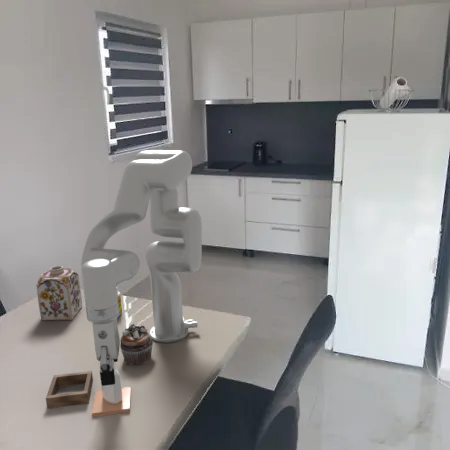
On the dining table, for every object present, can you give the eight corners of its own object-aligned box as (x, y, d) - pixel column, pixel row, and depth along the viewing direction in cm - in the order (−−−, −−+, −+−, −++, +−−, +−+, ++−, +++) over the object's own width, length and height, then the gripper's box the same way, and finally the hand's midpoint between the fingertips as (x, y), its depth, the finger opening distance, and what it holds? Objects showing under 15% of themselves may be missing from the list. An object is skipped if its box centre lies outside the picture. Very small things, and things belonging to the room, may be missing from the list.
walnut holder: (93, 380, 123) (91, 370, 122) (88, 403, 113) (87, 393, 112) (55, 385, 121) (53, 375, 120) (47, 408, 111) (45, 398, 111)
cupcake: (115, 365, 130) (112, 334, 127) (130, 348, 139) (128, 318, 136) (145, 369, 127) (142, 337, 125) (159, 351, 136) (157, 321, 134)
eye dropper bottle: (105, 407, 110) (100, 364, 107) (102, 394, 115) (97, 353, 112) (123, 402, 111) (119, 359, 108) (119, 390, 116) (115, 349, 113)
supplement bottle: (111, 319, 158) (108, 292, 156) (103, 314, 162) (100, 288, 160) (125, 313, 162) (122, 287, 159) (117, 309, 166) (114, 283, 163)
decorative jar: (72, 320, 158) (66, 273, 153) (40, 321, 158) (33, 273, 154) (83, 306, 170) (78, 261, 165) (53, 306, 170) (46, 262, 165)
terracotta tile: (131, 389, 118) (130, 386, 118) (129, 411, 109) (129, 408, 109) (96, 394, 117) (95, 390, 116) (92, 416, 108) (91, 413, 108)
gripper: (116, 325, 99) (123, 392, 103) (120, 294, 115) (126, 352, 120) (81, 329, 98) (90, 396, 102) (90, 296, 114) (98, 355, 119)
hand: (110, 372), depth 111 cm, fingers open, 9 cm apart
